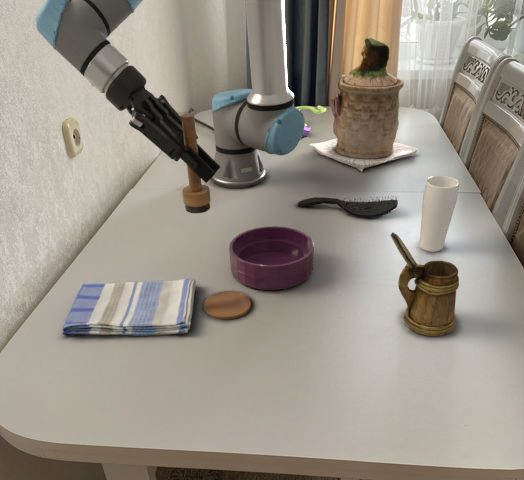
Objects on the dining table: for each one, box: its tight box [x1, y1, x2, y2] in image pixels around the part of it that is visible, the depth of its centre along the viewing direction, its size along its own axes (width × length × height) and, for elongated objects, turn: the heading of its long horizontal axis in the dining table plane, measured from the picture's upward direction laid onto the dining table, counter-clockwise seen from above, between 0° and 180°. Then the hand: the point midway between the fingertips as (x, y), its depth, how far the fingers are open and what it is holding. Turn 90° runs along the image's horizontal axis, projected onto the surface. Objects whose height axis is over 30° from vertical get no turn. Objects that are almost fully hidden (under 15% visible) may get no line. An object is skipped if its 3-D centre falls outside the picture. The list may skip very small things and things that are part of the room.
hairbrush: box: [297, 195, 399, 219], centre depth 137 cm, size 8×4×25 cm
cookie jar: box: [309, 37, 418, 172], centre depth 160 cm, size 25×25×32 cm
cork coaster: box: [203, 290, 252, 321], centre depth 105 cm, size 9×9×1 cm
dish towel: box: [62, 278, 197, 337], centre depth 104 cm, size 17×24×3 cm
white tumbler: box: [418, 175, 460, 253], centre depth 117 cm, size 7×7×15 cm
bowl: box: [228, 225, 315, 291], centre depth 114 cm, size 17×17×6 cm
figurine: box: [296, 105, 327, 137], centre depth 191 cm, size 18×27×6 cm
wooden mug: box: [390, 232, 460, 337], centre depth 94 cm, size 9×14×18 cm, turn 88°
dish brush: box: [180, 112, 212, 214], centre depth 105 cm, size 5×5×18 cm
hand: (213, 174), depth 106 cm, fingers closed on dish brush, 2 cm apart
